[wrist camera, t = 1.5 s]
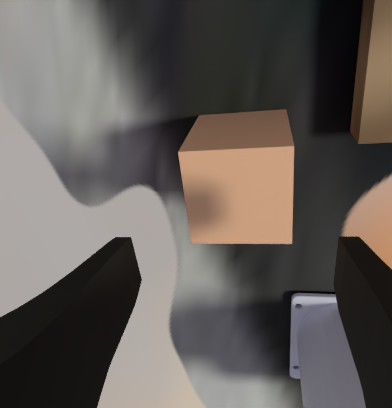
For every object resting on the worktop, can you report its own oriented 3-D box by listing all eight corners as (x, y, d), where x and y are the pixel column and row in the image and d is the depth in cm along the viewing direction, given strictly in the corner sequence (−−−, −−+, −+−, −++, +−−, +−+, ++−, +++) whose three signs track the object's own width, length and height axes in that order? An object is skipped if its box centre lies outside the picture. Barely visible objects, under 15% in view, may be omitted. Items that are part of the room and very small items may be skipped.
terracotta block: (285, 188, 22) (292, 243, 17) (207, 190, 23) (191, 243, 18) (286, 109, 20) (293, 146, 15) (199, 115, 21) (177, 151, 16)
